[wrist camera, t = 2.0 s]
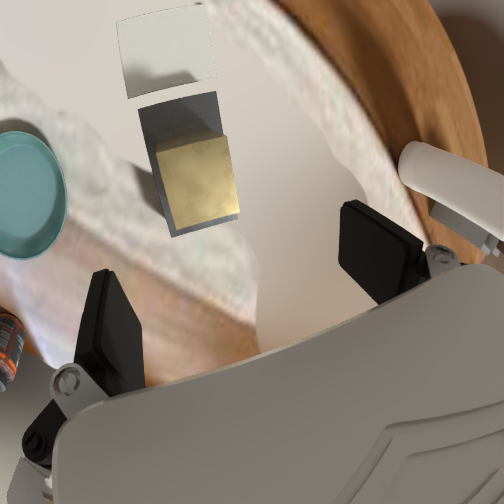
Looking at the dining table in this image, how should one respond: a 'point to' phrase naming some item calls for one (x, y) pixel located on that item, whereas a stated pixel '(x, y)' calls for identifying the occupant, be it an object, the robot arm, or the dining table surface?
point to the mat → (165, 49)
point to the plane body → (176, 125)
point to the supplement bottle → (10, 347)
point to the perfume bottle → (467, 229)
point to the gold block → (197, 177)
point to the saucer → (29, 196)
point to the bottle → (455, 184)
